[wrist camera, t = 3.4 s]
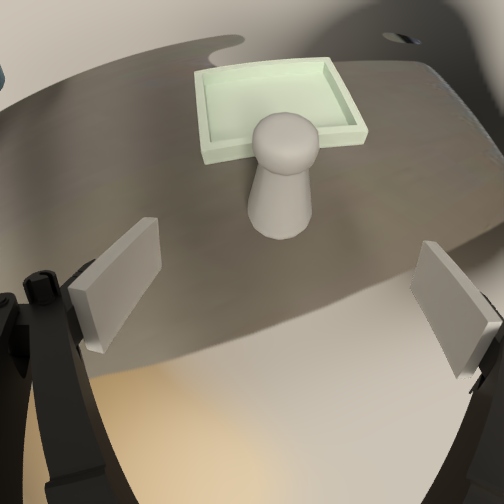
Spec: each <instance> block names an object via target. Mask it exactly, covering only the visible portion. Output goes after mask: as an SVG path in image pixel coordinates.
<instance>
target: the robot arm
mask: <svg viewBox="0 0 504 504" xmlns="http://www.w3.org/2000/svg"><path fill="white" fill-rule="evenodd" d="M4 82H5V76H4V73H3V71H2V68H1V66H0V91H1V89H2V88H3V85H4ZM161 268H162V262H161V252H160V241H159V228H158V218H151V217H143V218H142V219H141V220H140V221H139V222H137V223H136V224H135V225H134V226H133V227H132V228H131V229H129V230H128V231H127V232H126V233H125V234H124V235H123V236H122V237H120V238H119V239H118V240H117V241H116V242H115V243H114V244H113V245H112V246H110V247H109V248H108V249H107V250H106V251H105V252H104V253H103V254H102V255H101V256H100V257H99V258H97V259H94V260H92V261H90V262H88V263H86V264H84V265H83V266H82V267H81V268H80V269H79V270H78V272H76V273H75V274H74V275H73V276H72V277H70V278H69V279H68V280H67V281H66V282H65V283H64V284H63V285H62V286H61V287H60V288H59V284H58V281H57V277H56V274H55V272H53V271H49V270H44V271H38V272H36V273H33V274H31V275H30V276H28V277H27V278H26V279H25V280H24V282H23V287H24V290H25V293H26V296H27V299H28V301H29V304H18V302H17V300H16V297H15V295H14V294H13V293H0V504H23V488H22V487H23V484H22V481H23V479H22V478H23V451H24V438H25V428H26V418H27V410H28V403H29V396H30V390H31V384H32V382H33V391H34V399H35V407H36V413H37V420H38V425H39V431H40V436H41V441H42V446H43V451H44V455H45V459H46V463H47V467H48V471H49V476H50V481H49V482H47V483H45V494H46V499H47V502H48V504H139V503H138V501H137V499H136V498H135V496H134V494H133V492H132V490H131V488H130V485H129V483H128V482H127V479H126V477H125V475H124V473H123V471H122V468H121V466H120V464H119V462H118V459H117V457H116V455H115V452H114V450H113V448H112V445H111V443H110V440H109V438H108V435H107V433H106V430H105V427H104V425H103V422H102V419H101V416H100V413H99V411H98V408H97V405H96V402H95V399H94V396H93V393H92V389H91V386H90V383H89V379H88V376H87V372H86V369H85V365H84V361H83V358H82V354H81V350H80V348H79V345H78V344H79V343H80V341H81V340H82V339H83V338H84V341H85V344H86V347H87V349H88V350H91V351H95V352H99V353H103V354H104V353H105V352H106V350H107V349H108V347H109V345H110V344H111V342H112V341H113V339H114V338H115V336H116V335H117V333H118V331H119V330H120V328H121V327H122V325H123V324H124V322H125V321H126V319H127V318H128V316H129V315H130V313H131V312H132V310H133V309H134V307H135V306H136V304H137V303H138V301H139V300H140V299H141V297H142V296H143V294H144V293H145V291H146V290H147V288H148V287H149V285H150V284H151V283H152V281H153V280H154V278H155V277H156V275H157V274H158V273H159V271H160V270H161ZM410 289H411V291H412V293H413V295H414V296H415V298H416V300H417V302H418V303H419V305H420V307H421V309H422V311H423V313H424V314H425V316H426V318H427V320H428V322H429V324H430V326H431V328H432V330H433V331H434V333H435V335H436V337H437V339H438V341H439V343H440V345H441V347H442V349H443V351H444V353H445V355H446V358H447V360H448V362H449V364H450V366H451V368H452V370H453V372H454V375H455V377H456V379H465V378H471V377H472V376H473V374H474V372H475V371H476V369H477V367H478V366H479V368H480V370H481V372H482V374H481V375H480V376H479V378H478V380H477V381H476V383H475V384H474V386H473V387H472V389H471V390H470V392H469V394H471V393H472V391H473V394H472V397H471V400H470V403H469V405H468V408H467V411H466V413H465V416H464V418H463V421H462V423H461V426H460V428H459V431H458V433H457V435H456V438H455V440H454V442H453V444H452V446H451V449H450V451H449V453H448V455H447V457H446V459H445V461H444V463H443V465H442V467H441V469H440V471H439V473H438V475H437V476H436V478H435V480H434V482H433V484H432V486H431V487H430V489H429V491H428V493H427V494H426V496H425V498H424V499H423V501H422V503H421V504H504V319H503V317H502V316H501V315H500V314H499V313H498V311H497V310H496V308H495V307H494V306H493V305H491V302H490V301H489V300H488V298H487V297H486V296H485V295H484V294H482V293H481V292H480V291H478V289H477V288H476V287H475V286H474V284H473V283H472V282H471V281H470V280H469V278H468V277H467V276H466V275H465V274H464V273H463V271H461V269H460V268H459V267H458V266H457V265H456V263H454V261H453V260H452V259H451V258H450V257H449V256H448V255H447V253H446V252H445V251H444V250H443V249H442V248H441V247H440V246H439V245H438V244H437V243H436V242H432V241H424V240H423V244H422V248H421V251H420V255H419V259H418V262H417V266H416V269H415V273H414V276H413V279H412V282H411V286H410Z"/></svg>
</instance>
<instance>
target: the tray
mask: <svg viewBox="0 0 504 504" xmlns="http://www.w3.org/2000/svg"><path fill="white" fill-rule="evenodd" d="M194 76H195V89H196V101H197V113H198V124H199V135H200V145H201V153H202V156H203V160H204V163H205V165H208V164H213V163H219V162H224V161H230V160H236V159H242V158H249V157H255V155H254V153H253V149H252V135H253V131H254V128H255V127H256V126H257V124H258V123H259V121H260V120H262V119H263V118H265V117H267V116H269V115H270V114H273V113H281V112H289V113H295V114H299V115H301V116H302V117H304V118H306V119H307V120H309V121H311V123H312V124H313V125H314V126H315V128H316V129H317V130H318V135H319V148H326V147H337V146H348V145H360V144H364V141H365V139H366V136H367V134H368V129H367V127H366V125H365V123H364V121H363V119H362V117H361V115H360V113H359V111H358V109H357V107H356V105H355V103H354V101H353V99H352V97H351V95H350V93H349V91H348V90H347V88H346V86H345V84H344V82H343V81H342V79H341V77H340V75H339V73H338V72H337V70H336V68H335V67H334V65H333V63H332V61H331V60H330V58H329V57H321V58H320V57H319V58H296V59H282V60H270V61H260V62H251V63H244V64H236V65H229V66H222V67H216V68H211V69H205V70H200V71H194Z"/></svg>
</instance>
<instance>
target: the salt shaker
mask: <svg viewBox="0 0 504 504" xmlns="http://www.w3.org/2000/svg"><path fill="white" fill-rule="evenodd" d="M252 149H253V153H254V155H255V157H256V159H257V161H258V162H259V163H258V166H257V170H256V173H255V177H254V181H253V184H252V188H251V191H250V195H249V199H248V216H249V218H250V220H251V223H252V225H253V227H254V228H255V229H256V230H257V231H259V232H260V233H261V234H263V235H264V236H266V237H269V238H273V239H277V240H283V239H287V238H292V237H295V236H296V235H297V234H299V233H300V232H302V231H303V230H304V229H305V228H306V227H307V225H308V223H309V221H310V218H311V216H312V205H311V190H310V177H309V167H311V166H312V165H313V163H314V161H315V159H316V157H317V155H318V152H319V149H320V148H319V135H318V130H317V129H316V128H315V126H314V125H313V124H312V123H311V121H309V120H307V119H306V118H304V117H302V116H301V115H299V114H295V113H289V112H281V113H273V114H270V115H269V116H267V117H265V118H263V119H262V120H260V121H259V123H258V124H257V126H256V127H255V128H254V131H253V135H252Z"/></svg>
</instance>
